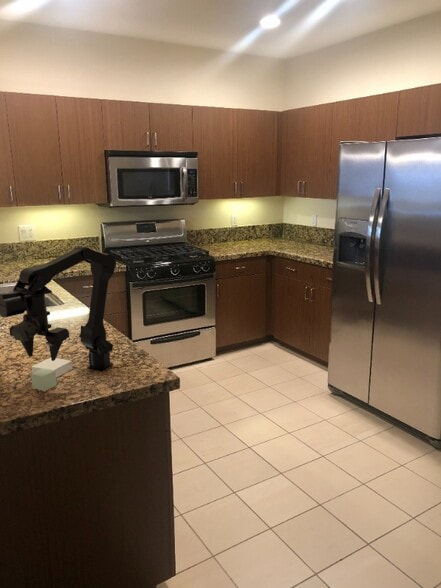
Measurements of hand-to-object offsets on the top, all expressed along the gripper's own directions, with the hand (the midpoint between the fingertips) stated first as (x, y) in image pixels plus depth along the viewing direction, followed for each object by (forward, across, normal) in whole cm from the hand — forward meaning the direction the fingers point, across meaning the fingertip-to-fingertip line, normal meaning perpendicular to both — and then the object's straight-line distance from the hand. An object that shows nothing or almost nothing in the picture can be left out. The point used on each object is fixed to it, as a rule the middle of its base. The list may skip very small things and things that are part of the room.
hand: (42, 358), depth 146 cm
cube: (+10, 0, 0) cm, 10 cm away
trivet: (+10, -6, +10) cm, 15 cm away
